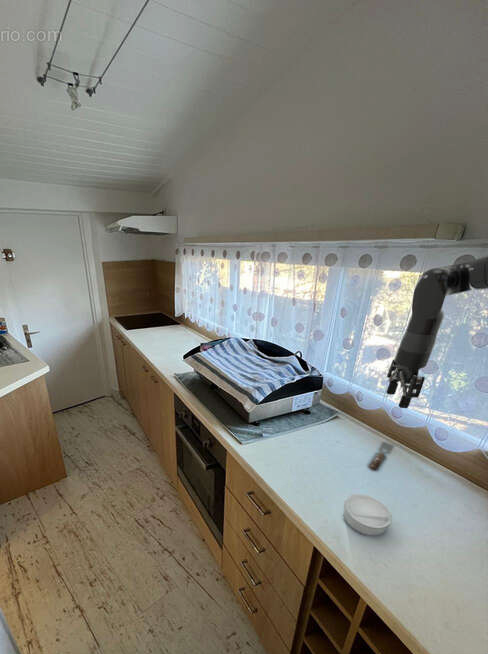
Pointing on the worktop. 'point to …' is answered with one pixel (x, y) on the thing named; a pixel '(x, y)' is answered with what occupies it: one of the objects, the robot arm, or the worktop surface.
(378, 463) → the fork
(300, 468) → the worktop surface
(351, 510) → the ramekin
